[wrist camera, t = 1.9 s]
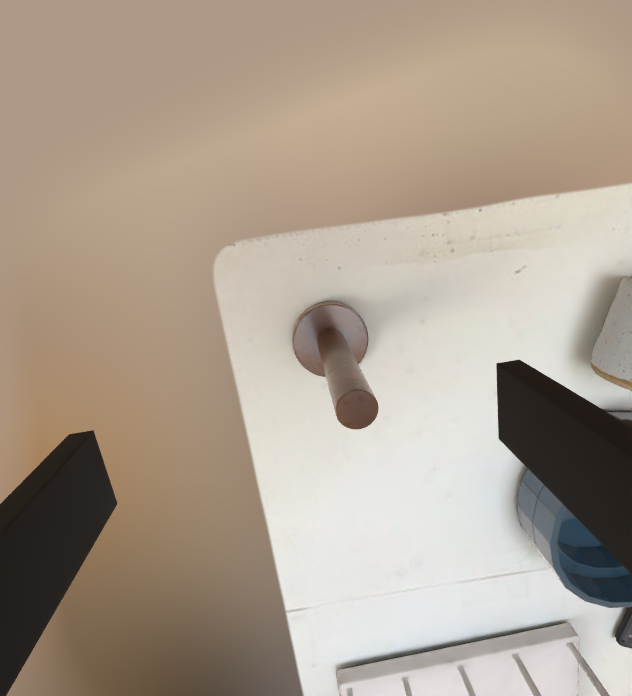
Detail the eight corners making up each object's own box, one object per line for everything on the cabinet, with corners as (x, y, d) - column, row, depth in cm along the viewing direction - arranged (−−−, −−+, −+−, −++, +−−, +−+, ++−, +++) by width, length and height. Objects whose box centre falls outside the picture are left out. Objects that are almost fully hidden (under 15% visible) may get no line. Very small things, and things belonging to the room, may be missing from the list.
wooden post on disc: (340, 286, 35) (376, 330, 21) (379, 346, 37) (436, 422, 23) (277, 328, 36) (274, 397, 22) (319, 385, 37) (339, 482, 24)
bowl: (644, 375, 39) (706, 402, 33) (701, 502, 44) (765, 545, 38) (485, 470, 41) (518, 512, 35) (556, 583, 45) (596, 636, 39)
